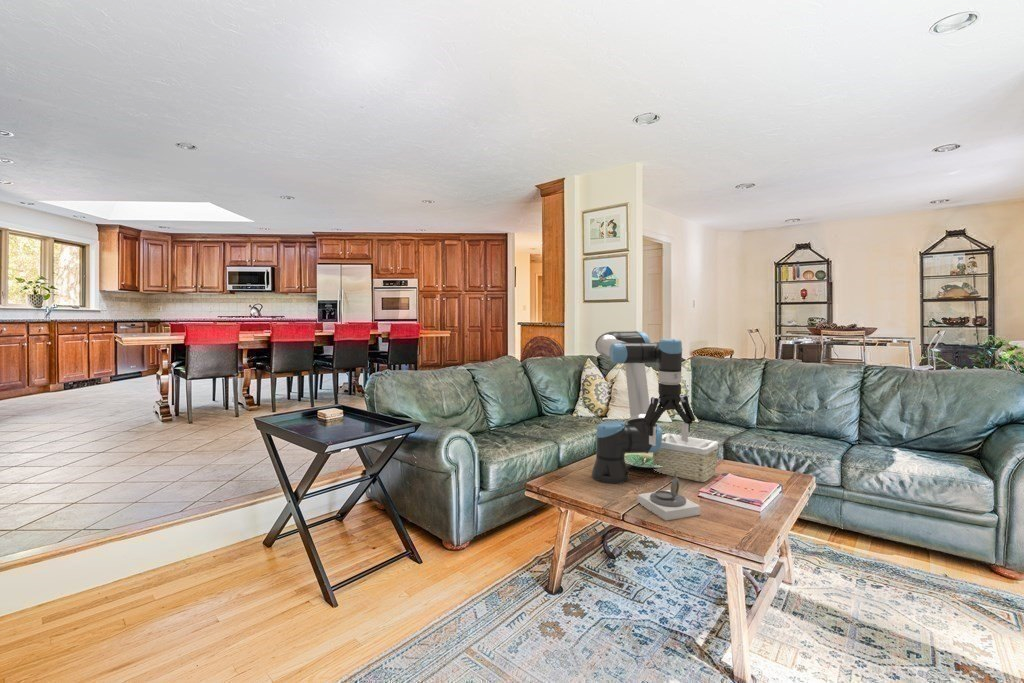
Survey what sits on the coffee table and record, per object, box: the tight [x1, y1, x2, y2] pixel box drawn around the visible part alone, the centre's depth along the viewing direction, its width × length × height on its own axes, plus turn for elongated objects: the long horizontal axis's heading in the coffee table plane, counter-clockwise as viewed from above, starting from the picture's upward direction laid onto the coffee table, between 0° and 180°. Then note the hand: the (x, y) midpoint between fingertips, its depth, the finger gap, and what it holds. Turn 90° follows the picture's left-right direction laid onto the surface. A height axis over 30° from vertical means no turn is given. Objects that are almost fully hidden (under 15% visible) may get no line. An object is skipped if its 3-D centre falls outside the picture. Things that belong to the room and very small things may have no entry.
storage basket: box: [652, 432, 719, 483], centre depth 200 cm, size 24×16×15 cm
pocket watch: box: [654, 471, 680, 499], centre depth 163 cm, size 8×8×10 cm
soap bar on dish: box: [637, 489, 701, 521], centre depth 163 cm, size 16×14×4 cm
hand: (668, 443), depth 163 cm, fingers open, 13 cm apart
